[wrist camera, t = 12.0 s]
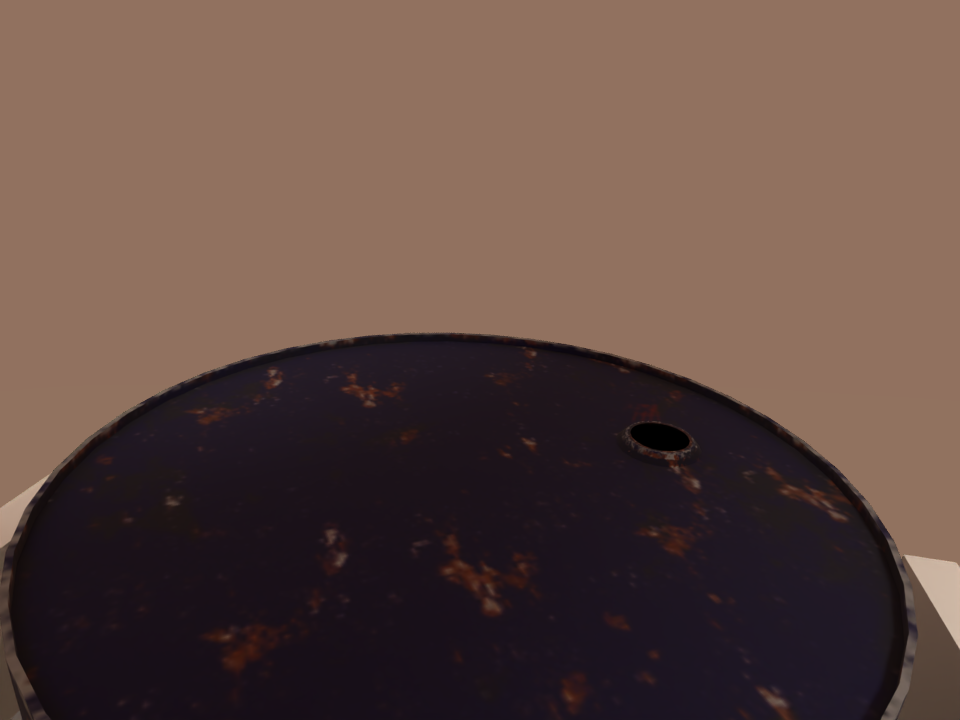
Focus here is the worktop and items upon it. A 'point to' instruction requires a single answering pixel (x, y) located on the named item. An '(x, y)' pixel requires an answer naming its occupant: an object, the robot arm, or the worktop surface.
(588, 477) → the rusty oil drum
